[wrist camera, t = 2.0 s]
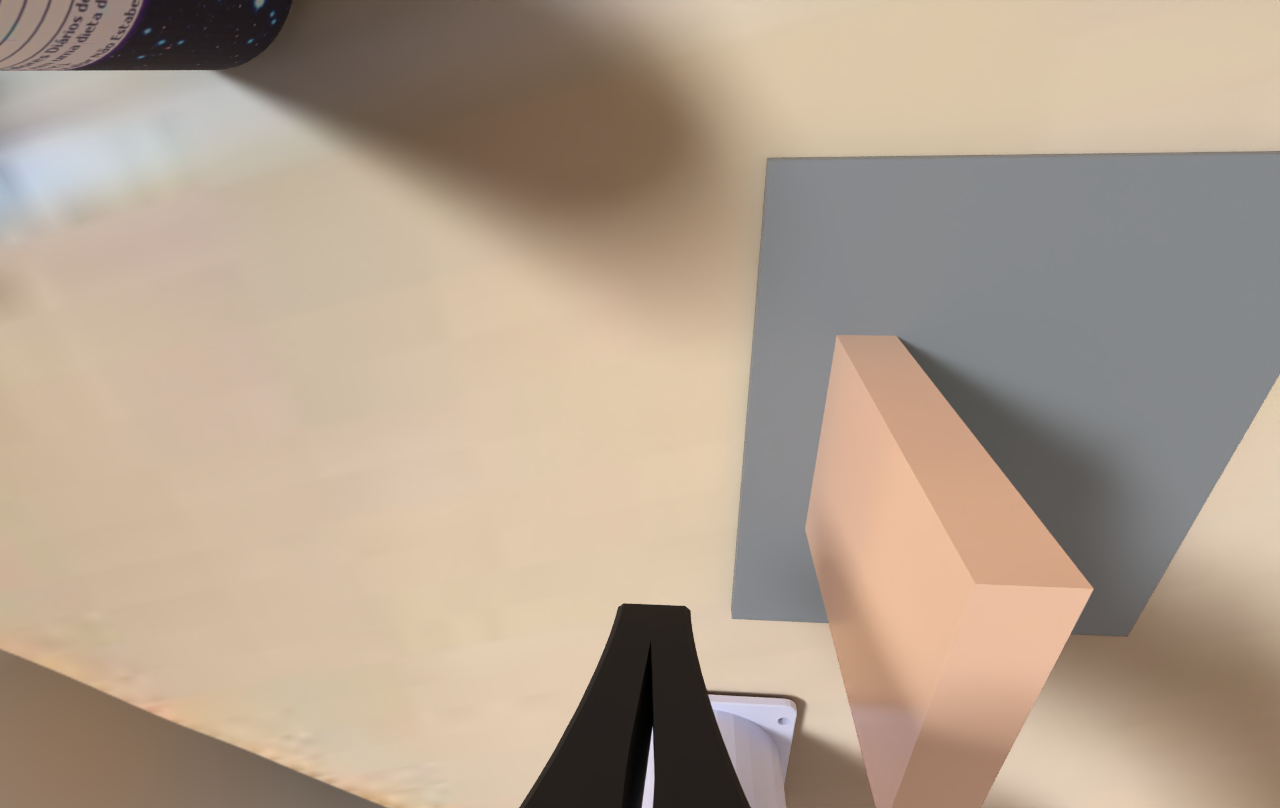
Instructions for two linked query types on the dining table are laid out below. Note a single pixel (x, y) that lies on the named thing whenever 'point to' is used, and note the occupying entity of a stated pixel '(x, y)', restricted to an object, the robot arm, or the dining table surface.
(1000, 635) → the tile
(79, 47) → the beverage can
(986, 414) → the slate pad
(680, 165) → the dining table surface
